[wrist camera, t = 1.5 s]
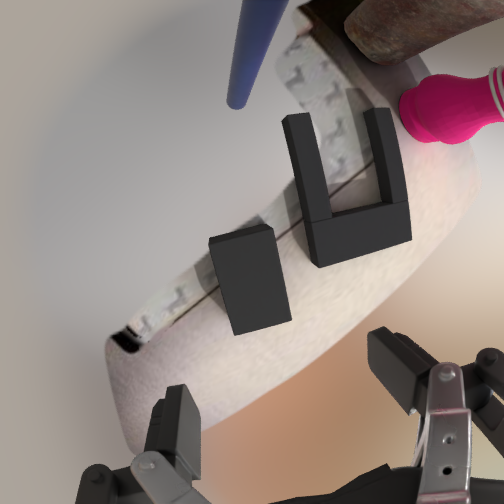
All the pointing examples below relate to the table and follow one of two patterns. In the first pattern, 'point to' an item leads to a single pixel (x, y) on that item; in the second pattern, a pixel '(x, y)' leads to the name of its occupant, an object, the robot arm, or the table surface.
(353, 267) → the table surface
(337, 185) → the table surface
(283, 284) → the black block
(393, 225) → the black u-shaped piece
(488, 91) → the pepper mill
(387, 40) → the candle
